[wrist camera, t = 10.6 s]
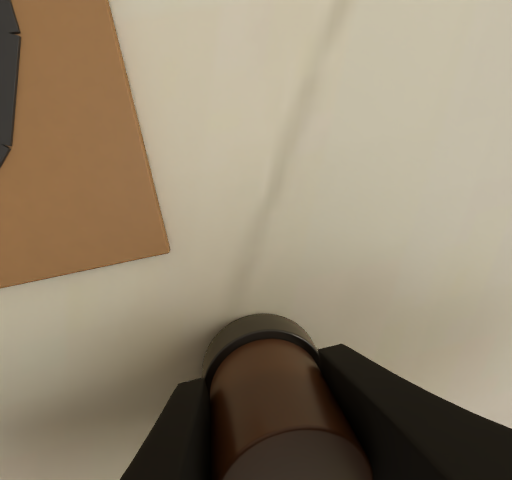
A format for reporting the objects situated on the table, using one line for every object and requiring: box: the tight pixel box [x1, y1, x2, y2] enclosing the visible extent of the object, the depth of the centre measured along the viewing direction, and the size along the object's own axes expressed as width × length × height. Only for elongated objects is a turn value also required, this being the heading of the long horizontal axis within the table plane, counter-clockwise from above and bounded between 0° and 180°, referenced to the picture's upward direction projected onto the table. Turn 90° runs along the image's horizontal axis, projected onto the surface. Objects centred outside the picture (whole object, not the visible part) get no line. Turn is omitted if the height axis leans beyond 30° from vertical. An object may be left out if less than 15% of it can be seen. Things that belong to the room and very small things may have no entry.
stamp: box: [202, 314, 374, 480], centre depth 8 cm, size 3×3×4 cm
